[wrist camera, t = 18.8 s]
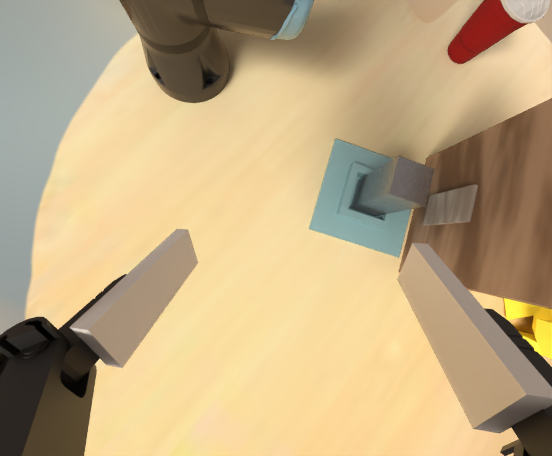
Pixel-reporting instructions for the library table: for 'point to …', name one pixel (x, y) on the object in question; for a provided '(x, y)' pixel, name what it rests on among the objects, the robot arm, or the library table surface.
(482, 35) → the plastic cup
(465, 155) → the door panel
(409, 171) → the bar
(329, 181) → the socket
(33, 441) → the robot arm
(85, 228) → the library table surface
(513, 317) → the piggy bank
